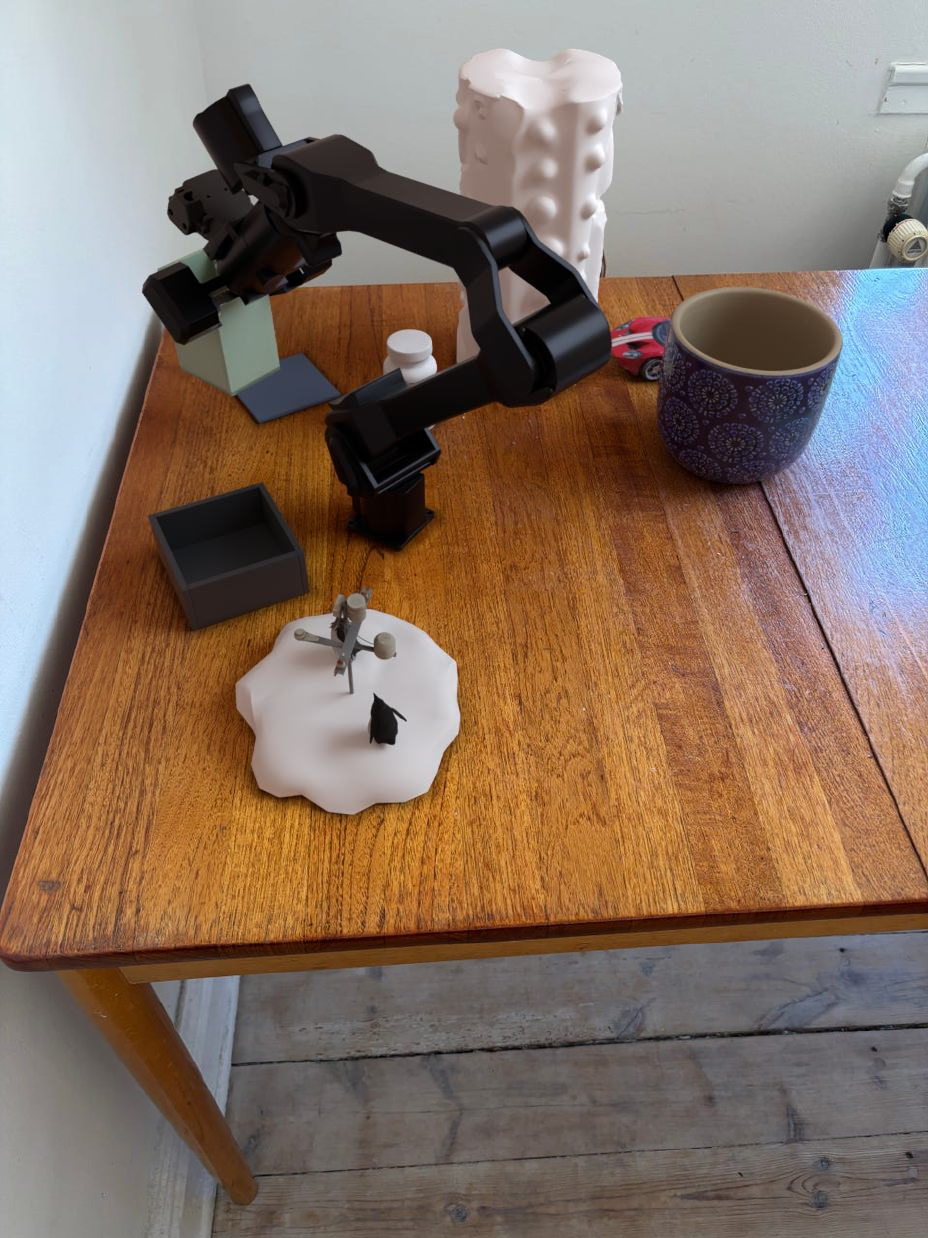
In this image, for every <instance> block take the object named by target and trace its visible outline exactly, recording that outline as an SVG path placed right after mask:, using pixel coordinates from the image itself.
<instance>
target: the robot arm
mask: <svg viewBox="0 0 928 1238" xmlns="http://www.w3.org/2000/svg"><path fill="white" fill-rule="evenodd" d="M192 128H193V129H194V131H195V132H196V135H197V137H198V138H199V139H200V142H201V144H202V145H203V146H204V148H205V150H206V152H207V153H208V155H209V157H210V158H211V160H212V162H213V164H214V165H215V167H216V168H213V169H210V170H208V171H204V172H202V173H200V174H197V175H195V176H193V177H190V178H187V179H185V180H184V181H183V182H182V185H181V186H179V187H176V188H175V189H174V192H173V194H172V195H169V196H168V203H167V210H166V215H167V218H168V220H169V221H170V222H171V223H172V224H173V225H174V226H175V227H176V228H177V229H178V230H179V231H180V232H181V233H182V234H183V235H184V236H190V235H192V234H195V233H196V234H198V235H199V236H201V237H202V239H204V240H206V241H207V242H206V244H205V245H204V247H202V248H203V250H204V252H205V253H206V255H207V256H208V258H209V259H210V260H211V261H213V260H216V262H217V263H216V265H215V267H216V269H217V271H218V274H219V276H217V277H215V278H213V279H211V280H209V281H207V282H205V283H202V282H201V283H200V282H199V281H198V279H197V278H196V276H195V275H194V273H193V272H192V270H191V269H190V267H189V266H187V265H185V264H183V263H181V262H178V263H175V264H173V265H171V266H169V267H167V268H164V269H162V270H160V271H158V270H157V271H156V272H154V273H151V274H149V275H148V276H147V278H146V280H144V282H143V284H142V288H141V294H142V295H143V296H144V298H145V299H146V302H148V304H149V305H150V306H151V308H152V310H153V311H154V313H155V314H156V316H157V318H158V319H159V320H160V322H161V323H162V324H163V326H164V327H165V329H166V331H167V332H168V333H169V335H170V337H171V338H172V340H173V342H174V341H175V342H176V343H179V344H182V345H186V344H188V343H190V342H192V341H194V340H196V339H198V338H200V337H202V336H204V335H206V334H208V333H209V332H211V331H213V330H215V329H217V328H219V327H221V326H222V324H221V322H220V320H219V315H220V314H221V306H223V305H225V304H227V303H229V302H231V301H233V300H235V299H237V298H239V297H240V298H241V300H242V301H243V303H244V305H245V306H246V305H248V304H250V303H252V302H254V301H256V300H258V299H260V298H262V297H264V296H266V295H268V294H269V298H270V297H274V296H280V295H284V294H287V293H289V292H291V291H293V290H295V289H297V288H299V287H301V286H303V285H304V284H307V283H309V282H311V281H312V280H314V279H316V278H318V277H320V276H322V275H324V274H325V273H326V272H327V271H328V270H329V269H330V268H332V266H333V259H337V258H338V257H342V255H343V249H342V243H341V241H340V239H339V237H338V233H342V232H353V233H359V234H362V235H365V236H367V237H370V238H373V239H375V240H378V241H381V242H383V243H386V244H389V245H391V246H393V247H396V248H399V249H402V250H404V251H406V252H409V253H412V254H414V255H416V256H421V257H422V258H425V259H428V260H430V261H433V262H436V263H438V264H441V265H444V266H445V267H448V268H452V269H453V271H454V272H455V274H456V275H457V277H459V279H460V280H461V282H462V283H463V285H464V287H465V288H466V294H467V302H468V310H469V318H470V326H471V333H472V335H473V338H474V339H475V341H476V343H477V344H478V346H479V348H480V350H479V352H478V354H477V355H475V356H473V357H470V358H468V359H466V360H464V361H462V362H459V363H457V362H456V363H455V364H453V365H451V366H448V367H447V368H445V369H442V370H440V371H437V373H435V374H433V375H431V376H429V377H427V378H425V379H422V380H420V381H418V382H416V383H414V384H410V383H408V382H407V381H405V380H404V377H403V375H402V372H401V369H400V367H399V368H397V369H395V370H393V371H391V372H389V373H387V374H386V375H383V374H382V375H380V376H377V377H376V378H374V379H371V380H370V381H368V382H366V383H364V384H363V385H360V386H359V387H357V388H355V389H353V390H350V391H349V392H347V393H345V394H344V395H341V397H338V398H335V399H333V400H331V401H329V402H328V403H327V406H328V407H329V408H330V409H331V410H329V411H328V412H327V413H326V414H325V417H324V421H323V422H324V424H325V425H326V427H325V430H324V435H323V436H324V441H325V445H326V447H327V450H328V453H329V456H330V459H331V462H332V465H333V468H334V471H335V474H336V477H337V479H338V481H339V483H340V484H342V485H344V486H345V487H346V494H347V495H348V496H349V497H350V498H351V504H352V505H351V506H352V512H353V513H355V514H353V515H352V516H351V517H350V518H349V519H348V520H346V522H345V526H346V529H347V530H349V531H352V532H354V533H356V534H358V535H360V536H362V537H364V538H367V539H369V540H371V541H373V542H374V543H377V544H379V545H382V546H384V547H385V548H388V549H390V550H393V551H395V552H400V551H402V550H403V549H404V548H405V547H406V546H407V545H408V544H409V543H410V542H411V541H412V540H413V539H414V538H416V536H417V535H418V534H419V533H421V532H422V531H423V529H425V528H426V527H427V525H429V524H430V523H431V522H432V521H433V520H434V519H435V517H436V513H435V511H434V510H433V509H430V508H428V507H426V475H425V473H423V471H425V470H426V469H428V468H430V467H431V466H432V467H433V466H435V465H436V464H438V462H439V459H440V457H441V454H442V449H441V447H440V445H439V444H438V442H437V440H436V439H435V436H434V435H433V433H432V432H431V429H430V430H429V428H428V427H430V426H433V425H435V426H436V425H438V424H441V423H444V422H446V421H448V420H451V419H454V418H457V417H459V416H462V415H464V414H467V413H470V412H472V411H475V410H477V409H480V408H483V407H485V406H488V405H490V404H494V403H498V404H500V405H502V406H503V407H505V408H507V409H515V408H517V409H518V408H528V407H537V406H541V405H543V404H545V403H546V402H548V401H549V400H552V399H553V398H554V397H556V396H557V395H559V394H561V393H562V392H564V391H566V390H567V389H569V388H571V387H573V386H574V385H576V384H577V383H579V382H581V381H582V380H584V379H586V378H587V377H589V376H590V375H592V374H594V373H595V372H597V371H599V370H601V369H602V368H603V367H605V366H607V365H608V364H609V362H610V361H611V359H612V353H611V349H612V339H611V329H610V324H609V321H608V319H607V317H606V315H605V313H604V311H603V309H602V308H601V306H600V305H599V302H598V303H597V302H596V300H595V298H594V297H593V295H592V293H591V292H590V290H589V288H588V286H587V285H586V283H585V281H584V280H583V278H582V276H581V275H580V273H579V272H578V271H577V269H576V268H575V267H573V266H572V265H571V264H569V263H568V262H567V261H566V260H564V259H563V258H562V257H560V256H559V255H558V254H556V253H555V252H554V251H552V250H551V249H550V248H548V247H547V246H546V245H544V244H543V243H542V242H540V241H539V239H538V238H537V236H536V234H535V233H534V231H533V229H532V228H531V226H530V224H529V223H528V221H527V220H526V218H525V217H524V216H523V214H522V213H521V212H520V211H519V210H517V209H516V208H514V207H510V206H502V205H500V206H493V205H489V204H486V203H483V202H480V201H477V200H474V199H471V198H468V197H465V196H462V195H460V193H456V192H452V191H449V190H446V189H443V188H441V187H437V186H434V185H432V184H428V183H425V182H422V181H419V180H416V179H413V178H410V177H407V176H403V175H400V174H398V173H395V172H391V171H388V170H387V169H386V168H383V167H382V166H380V165H379V163H378V161H377V159H376V157H375V154H374V153H373V152H372V151H371V150H370V149H369V148H367V147H365V146H363V145H362V144H360V143H359V142H357V141H355V140H353V139H351V138H350V137H348V136H346V135H344V134H337V133H334V134H331V135H328V136H325V137H322V138H318V137H313V136H307V137H304V138H302V139H298V140H296V141H293V142H290V143H287V144H285V145H283V143H282V141H281V140H280V138H279V136H278V134H277V132H276V131H275V129H274V127H273V126H272V124H271V121H270V119H269V118H268V116H267V115H266V113H265V111H264V110H263V107H262V104H260V101H259V98H258V96H257V94H256V93H255V90H254V89H253V87H252V86H251V83H245V84H241V85H238V86H235V87H233V88H232V87H231V88H228V90H227V92H226V94H225V96H222V97H221V98H219V99H218V100H215V101H214V102H213V103H211V104H210V105H208V106H207V107H206V108H205V109H204V110H202V111H201V112H198V113H197V114H195V116H194V118H193V120H192ZM250 196H253V197H254V198H256V199H257V201H256V202H255V204H253V202H252V200H251V197H250ZM507 267H508V268H509V269H510V270H511V271H512V272H513V273H515V274H516V275H517V276H519V277H520V278H522V279H523V280H524V281H526V282H527V283H528V284H530V285H531V286H532V287H534V288H535V289H536V290H538V291H539V292H541V293H542V294H543V295H545V296H546V297H547V299H548V300H549V302H550V304H548V305H547V306H545V307H543V308H541V309H539V310H537V311H535V312H534V313H532V314H530V315H528V316H526V317H524V318H523V319H521V320H519V321H517V322H515V323H513V324H511V323H510V321H509V319H508V318H507V316H506V315H505V313H504V311H503V306H502V298H501V290H500V282H499V275H498V272H499V271H501V270H503V269H505V268H507ZM226 289H229V290H226ZM224 290H226V291H225V292H222V294H221V293H220V294H219V296H218V295H216V296H215V297H211V296H213V295H215V294H217V293H219V292H221V291H224Z"/></svg>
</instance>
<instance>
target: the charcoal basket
mask: <svg viewBox="0 0 928 1238" xmlns="http://www.w3.org/2000/svg"><path fill="white" fill-rule="evenodd" d="M147 517H148V522H149V524H150V525H149V526H150V528H151V529H150V530H151V531H152V535H153V536H152V537H153V539H154V542H155V546H156V550H157V553H158V557H159V558H160V561H161V563H162V565H163V568H164V569H165V572H166V574H167V577H168V579H169V581H170V583H171V586H172V588H173V591H174V593H175V595H176V597H177V599H178V601H179V604H180V606H181V608H182V610H183V613H184V615H185V618H186V620H187V622H188V624H189V626H190V628H191V631H192V632H194V631H198V630H201V629H203V628H207V627H210V626H213V625H216V624H218V623H222V622H225V621H227V620H231V619H233V618H237V617H240V616H242V615H245V614H249V613H252V612H255V611H257V610H261V609H264V608H267V607H270V606H273V605H275V604H279V603H282V602H284V601H288V600H291V599H293V598H296V597H297V598H298V597H300V596H302V595H306V594H309V593H310V591H311V590H310V585H309V577H308V570H307V564H306V557H305V551H304V549H303V547H302V546H301V544H300V543H299V541H298V540H297V537H296V536H295V534H294V532H293V530H292V529H291V528H290V525H289V524H288V522H287V521H286V519H285V517H284V516H283V514H282V512H281V510H280V509H279V507H278V505H277V504H276V502H275V500H274V498H273V497H272V495H271V493H270V492H269V490H268V489H267V487H266V485H265V483H264V482H263V481H261V482H258V483H254V484H251V485H248V486H245V487H241V488H236V489H234V490H230V491H228V492H224V493H220V494H216V495H212V496H209V497H206V498H203V499H199V500H195V501H192V502H189V503H185V504H182V505H179V506H175V507H172V508H168V509H165V510H162V511H158V512H155V513H151V514H148V515H147Z"/></svg>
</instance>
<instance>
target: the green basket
mask: <svg viewBox="0 0 928 1238" xmlns="http://www.w3.org/2000/svg"><path fill="white" fill-rule="evenodd" d="M203 248H204V247H202V248H200V249H198V250H195V251H193V252H191V253H189V254H187V255H185V256H182V257H181V258H177V259H175V260H174V261H172V262H169V263H167V264H165V265H162V266H160V267H158V268H157V269H156V270H157V272H158V271H160V270H162V269H164V268H167V267H169V266H171V265H173V264H175V263H178V262H181V263H183V264H185V265H187V266H189V267H190V269H191V270H192V272H193V273H194V275H195V276H196V278H197V279H198V281H199V282H200V283H201V282H202V283H205V282H207V281H209V280H211V279H213V278H215V277H217V276H219V274H218V271H217V269H216V267H215V265H216V263H217V262H216V260H213V261H211V260H210V259H209V258H208V256H207V255H206V253H205V252H204V250H203ZM226 290H229V289H226ZM226 290H224V291H221V292H219V293H217V294H215V295H213V296H211V297H215V296H216V295H218V296H219V294H220V293H221V294H222V292H225V291H226ZM270 299H271V298H270V297H269V294H268V295H266V296H264V297H262V298H260V299H258V300H256V301H254V302H252V303H250V304H248V305H246V306H245V305H244V303H243V301H242V300H241V298H240V297H239V298H237V299H235V300H233V301H231V302H229V303H227V304H225V305H223V306H221V314H220V315H219V320H220V322H221V324H222V326H221V327H219V328H217V329H215V330H213V331H211V332H209V333H208V334H206V335H204V336H202V337H200V338H198V339H196V340H194V341H192V342H190V343H188V344H186V345H182V344H179V343H176V342H175V341H174V340H173V343H174V347H175V351H176V355H177V360H178V364H179V368H180V370H181V371H183V372H184V373H187V374H189V375H190V376H192V377H194V378H196V379H198V380H200V381H202V382H203V383H204V384H205V383H206V384H207V385H209V386H211V387H213V388H215V389H217V390H218V391H220V392H222V393H223V394H226V395H228V396H229V397H234V396H237V395H236V394H238V393H239V392H241V391H243V390H245V389H246V388H248V387H250V386H252V385H254V384H255V383H257V382H259V381H261V380H262V379H264V378H266V377H268V376H269V375H271V374H273V373H275V372H276V371H278V370H280V364H279V360H280V358H279V352H278V344H277V338H276V331H275V325H274V318H273V312H272V305H271V300H270Z"/></svg>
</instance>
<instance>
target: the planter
mask: <svg viewBox="0 0 928 1238" xmlns="http://www.w3.org/2000/svg"><path fill="white" fill-rule="evenodd" d="M670 318H671V319H670V323H669V327H668V331H667V336H666V341H665V347H664V352H663V357H662V364H661V371H660V377H659V379H658V384H657V394H656V407H655V408H656V410H655V411H656V412H655V420H656V429H657V433H658V435H659V437H660V439H661V442H662V444H663V446H664V447H665V449H666V451H667V452H668V454H669V455H670V456H671V457H672V458H673V459H674V460H675V461H676V462H677V463H678V464H679V465H680V466H682V467H683V468H684V469H686V470H687V471H689V472H690V473H692V474H694V475H696V476H698V477H701V478H704V479H706V480H710V481H711V482H712V481H713V482H717V483H722V484H729V485H733V484H734V485H744V484H754V483H758V482H762V481H765V480H768V479H770V478H773V477H775V476H777V475H779V474H781V473H782V472H784V471H785V470H787V469H788V468H790V467H791V466H792V465H793V464H794V463H796V462H797V461H798V460H799V458H800V457H801V456H802V455H803V453H804V452H805V450H806V449H807V447H808V446H809V443H810V441H811V439H812V437H813V435H814V433H815V431H816V428H817V427H818V424H819V421H820V420H821V417H822V413H823V411H824V408H825V405H826V403H827V399H828V397H829V393H830V391H831V388H832V385H833V382H834V378H835V375H836V372H837V368H838V365H839V362H840V359H841V354H842V350H843V346H844V345H843V344H844V340H843V335H842V332H841V330H840V328H839V326H838V325H837V324H836V322H835V321H834V320H833V319H832V318H831V317H830V316H829V315H828V314H827V313H826V312H825V311H823V310H822V309H821V308H819V307H817V306H815V305H814V304H812V303H811V302H808V301H807V300H804V299H802V298H799V297H797V296H794V295H792V294H788V293H785V292H780V291H777V290H773V289H767V288H760V287H754V286H753V287H752V286H727V287H726V286H725V287H716V288H712V289H707V290H704V291H701V292H697V293H695V294H693V295H690V296H689V297H687V298H685V299H684V300H683V301H681V302H679V304H678V305H677V306H676V307H675V309H674V310H673V311H672V313H671V315H670Z"/></svg>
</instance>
